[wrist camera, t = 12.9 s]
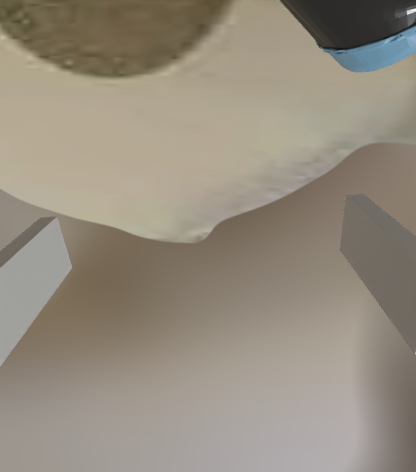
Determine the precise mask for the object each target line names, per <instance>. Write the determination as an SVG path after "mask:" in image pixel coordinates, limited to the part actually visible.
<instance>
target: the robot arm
mask: <svg viewBox="0 0 416 472" xmlns="http://www.w3.org/2000/svg"><path fill="white" fill-rule="evenodd" d="M280 1H281V2H282V4H283V5H284V6H285V7H286V8H287V9H288V10H289V11H290V12H291V13H292V15H293V16H294V17H295V18H296V19H297V20H298V21H299V22H300V23H301V25H302V26H303V27H304V28H305V29H306V30H307V31H308V32H309V33H310V35H311V36H312V37H313V38H314V39H315V41H316V43H317V45H318V46H319V48H320V49H323V51H324V52H327V53H329V54H330V55H331V56H332V57H333V58H334V59H335V60H336V61H337V62H338V63H339V64H340V65H341V66H342V67H344V68H345V69H347V70H350V71H353V72H370V71H375V70H378V69H382V68H384V67H387V66H389V65H392V64H394V63H396V62H398V61H400V60H402V59H404V58H406V57H408V56H410V55H412V54H413V53H415V52H416V0H280ZM340 251H341V252H342V253H343V255H344V256H345V258H346V259H347V260H348V262H349V263H350V264H351V266H352V267H353V269H354V270H355V271H356V273H357V274H358V276H359V277H360V278H361V280H362V281H363V283H364V284H365V285H366V287H367V288H368V290H369V291H370V292H371V294H372V295H373V296H374V298H375V299H376V301H377V302H378V303H379V305H380V306H381V308H382V309H383V310H384V312H385V313H386V315H387V316H388V317H389V319H390V320H391V321H392V323H393V324H394V326H395V327H396V328H397V330H398V331H399V333H400V334H401V335H402V337H403V338H404V340H405V341H406V342H407V344H408V345H409V346H410V348H411V349H412V351H413V352H414V353H415V354H416V236H415V235H413V234H412V233H411V232H410V231H409V230H407V229H406V228H405V227H403V226H402V225H401V224H400V223H399V222H397V221H396V220H395V219H393V218H392V217H391V216H390V215H389V214H387V213H386V212H385V211H383V210H382V209H381V208H380V207H379V206H377V205H376V204H375V203H374V202H372V201H371V200H370V199H369V198H367V197H366V196H365V195H364V194H358V195H346V197H345V207H344V217H343V227H342V238H341V247H340ZM71 269H72V266H71V262H70V259H69V256H68V253H67V249H66V246H65V243H64V239H63V236H62V233H61V229H60V226H59V222H58V219H57V217H46V218H40V219H39V220H37V221H36V222H35V223H34V224H33V225H31V226H30V227H29V228H28V229H27V230H25V231H24V232H23V233H22V234H21V235H20V236H18V237H17V238H16V239H15V240H13V241H12V242H11V243H10V244H9V245H7V246H6V247H5V248H4V249H3V250H1V251H0V366H1V365H2V363H3V362H4V361H5V359H6V358H7V356H8V355H9V354H10V352H11V351H12V349H13V348H14V347H15V345H16V344H17V343H18V341H19V340H20V339H21V337H22V335H24V333H25V332H26V330H27V329H28V328H29V326H30V325H31V323H32V322H33V321H34V319H35V318H36V317H37V315H38V314H39V313H40V311H41V310H42V308H43V307H44V306H45V304H46V303H47V302H48V300H49V299H50V297H51V296H52V294H53V293H54V292H55V290H56V289H57V288H58V286H59V285H60V284H61V282H62V281H63V280H64V278H65V277H66V275H67V274H68V273H69V271H70V270H71Z"/></svg>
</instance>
